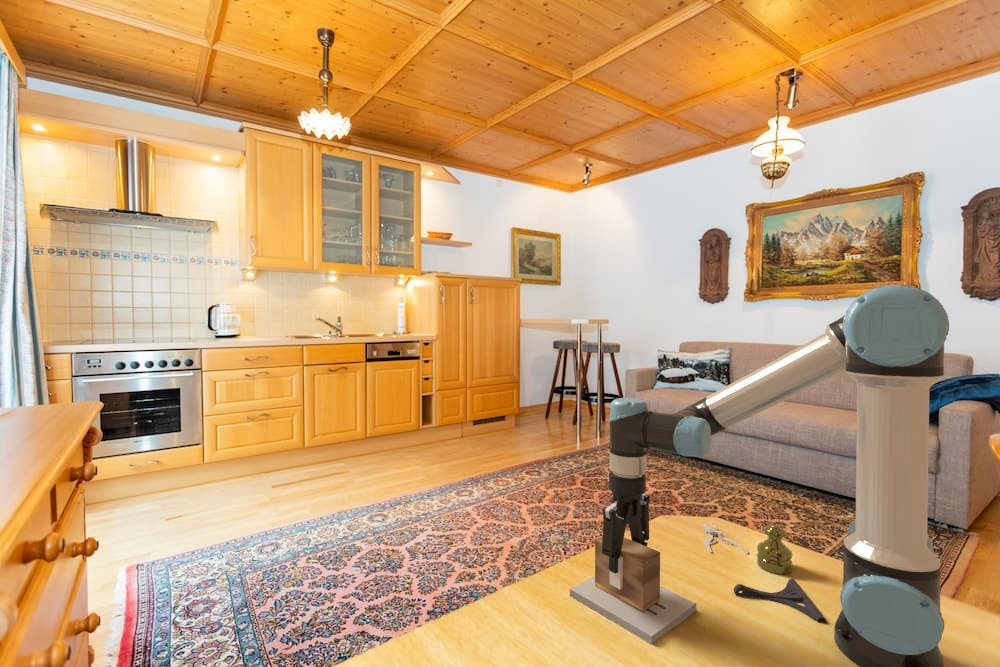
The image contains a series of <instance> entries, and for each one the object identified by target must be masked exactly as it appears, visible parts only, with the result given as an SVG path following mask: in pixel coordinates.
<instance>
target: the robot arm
mask: <svg viewBox="0 0 1000 667" xmlns="http://www.w3.org/2000/svg"><path fill="white" fill-rule="evenodd" d="M949 331H950V320H949V315H948V313H947V311H946V309H945V308H944V306H943V305H942V303H941V302H940V301H939V299H937V298H936V297H934V295H933V294H931V293H930V292H927V291H925V290H923V289H921V288H919V287H916V286H911V285H908V284H890V285H883V286H882V285H880V286H878V287H873V288H872V289H869V290H867V291H865V292H863V293H862V294H860V295H859V296H858V297H856V298H855V299H854V300H853V301H852V303H850V305H849V307H847V310H846V311H845V314H844V315H843V316H841V317H839V318H838V319H837V320H835V321H833V322H831V323H829V324H828V325H826V328H825V331H824V333H823V334H820V335H819V336H817V337H815V338H813V339H811V340H809V341H808V342H806V343H804V344H802V345H800V346H798V347H797V348H794V349H793V350H791V351H789V352H787V353H785V354H784V355H782V356H780V357H778V358H776V359H774V360H772V361H771V362H768V363H766V364H765V365H763V366H761V367H759V368H758V369H756V370H754V371H752V372H750V373H748V374H746V375H745V376H743V377H740V378H739V379H737V380H735V381H733V382H731V383H730V384H728V385H726V386H724V387H722V388H720V389H719V390H716V391H715V392H712V393H711V394H709V395H708V396H706V397H704V398H702V399H700V400H698V401H696V402H694V403H692V404H690V405H687V406H686V407H685V408H682V409H681V410H679V411H676V412H674V413H664V412H657V411H652V410H649V408H648V403H647V401H646V400H644V399H640V398H635V397H619V398H615V399H613V400H612V401H611V403H610V412H609V419H608V422H609V464H608V465H609V466H608V468H609V470H610V472H608V489H609V490H610V492H611V493H612V498H611V501H610V502H611V504H610V505H608V506H603V507H602V508H601V511H602V517H603V521H602V522H603V523H602V537H603V538H602V554H604V555H606V556H608V557H609V571H610V584H611V585H613V586H614V587H616V588H618V589H620V590H621V589H622V588H623V557H621V556H620V555H621V549H622V544H623V539H624V537H625V534H626V533H625V532H626V527H627V526H628V527H629V531H630V532H629V533H630V538H631V539H630V540H632V541H634V542H637V543H639V544H642V545H644V546H647V547H648V545H649V544H648V542H646V541H649V540H650V517H649V516H650V510H649V506H650V500H651V496H650V495H648V494H645V493H646V492H647V491H646V490H647V487H646V486H647V476H646V473H647V449H649V450H654V451H659V452H664V453H670V454H675V455H680V456H683V457H693V458H695V457H696V458H703V457H704V456H706V454H708V451H709V449H710V446H711V445H710V444H711V437H713V436H714V435H717V434H719V433H720V432H722V431H725V430H726V429H728V428H730V427H733V426H735V425H736V424H739V423H741V422H743V421H745V420H748V419H750V418H752V417H754V416H755V415H758V414H760V413H762V412H764V411H766V410H768V409H770V408H772V407H774V406H776V405H778V404H780V403H782V402H785V401H788V400H789V399H791V398H794V397H795V396H798V395H800V394H802V393H803V392H804V393H805V391H807V390H809V389H811V388H813V387H816V386H818V385H820V384H822V383H825V382H827V381H828V380H830V379H833V378H835V377H837V376H839V375H840V374H843V373H845V374H847V376H849V377H850V378H851V379H853V381H854V382H855V383H856V390H857V391H856V448H855V450H856V453H855V455H856V458H855V459H856V460H855V461H856V462H855V463H856V465H855V466H856V467H855V468H856V469H855V519H854V520H852V521H850V522H849V526H848V531H847V532H846V534H847V536H846V537H844V539H843V561H842V562H843V564H842V566H843V568H842V570H843V572H842V573H843V577H842V579H843V580H842V589H841V590H840V594H839V595H840V596H839V598H840V600H839V601H840V604H841V608H842V609H841V611H840V613H839V614H838V617H837V619H836V621H835V624H834V630H833V631H834V632H833V634H834V635H833V638H834V642H835V644H836V646H837V647H838V649H839V650H840V651H841V652H842V653H843V655H844V656H846V657H847V658H848V659H850V660H851V661H852V662H853V663H855V664H857V665H859V667H944V666H945V665H944V664H945V663H944V659H943V655H942V652H941V650H940V647H939V644H940V642H941V640H942V637H943V633H944V631H945V619H944V617H943V613H942V612H941V611H942V610H941V565H942V564H941V560H940V558H939V557H938V556H937V555H936V553H935V551H934V543H933V540H932V539H931V538H930V536H928V512H929V511H928V509H929V507H928V506H929V504H928V503H929V497H928V496H929V452H930V451H929V446H930V445H929V442H930V440H929V439H930V438H929V437H930V436H929V434H930V389H931V387H932V386H934V385H935V384H936V383H938V382H940V380H942V379H944V373H945V372H944V370H945V369H944V368H945V367H944V366H945V365H944V364H945V343H946V340H947V336H948V335H949Z"/></svg>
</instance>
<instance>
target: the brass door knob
mask: <svg viewBox="0 0 1000 667" xmlns="http://www.w3.org/2000/svg"><path fill="white" fill-rule="evenodd" d="M762 531H763V533H765V534H766V535H767V537H768V538H767V539H765V540H764V541H760V542H759V543H758V544H757V546H756V548H757V554H756V557H757V559H756V564H757V565H758V567H760V568H761V569H762V570H764V571H767V572H768V571H769V573H771V572H772V573H771V574H775V573H777V574H776V575H787V574H790V573H791V572H792V571H793V560H792V558H793V551H792V550H791V549H790V548H789V547H788V546H786V544H785V543H783V541H782V539H783V538H785V537H786V536H787V535H788V531H786V529H783V527H780V526H778V525H777V524H771V525H769V524H768V525H765V526H764V527H763V528H762Z"/></svg>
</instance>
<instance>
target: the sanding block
mask: <svg viewBox="0 0 1000 667" xmlns="http://www.w3.org/2000/svg"><path fill="white" fill-rule="evenodd" d="M602 538H603V536H601V537H599V538H597V539H595V540H594V542H595V543H594V554H595V555H594V576H595V586H597V587H598V588H600V589H602V590H604V591H606V592H608V593H610V594H612V595H613V596H615V597H617V598H619V599H621V600H623V601H625V602H626V603H628V604H630V605H632V606H634V607H636V608H638V609H640V610H641V611H644V610H646V609H647V608H649V607H650V606H652V605H653V604H655V603H656V602H658V601H659V600H660V586H661V551H658V550H656V549H654V548H651V547H650V546H648V545H647V546H644V545H642V544H639V543H637V542H634V541H632V539H629V538H627V537H625V536H624V539H623V544H622V549H621V555H620V556H621V557H623V588H622V589H621V590H620V589H618V588H616V587H614V586H613V585H611V584H610V571H609V557H608V556H606V555H604V554H602Z"/></svg>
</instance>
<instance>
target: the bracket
mask: <svg viewBox="0 0 1000 667" xmlns="http://www.w3.org/2000/svg"><path fill="white" fill-rule="evenodd" d="M733 593H734V594H735V596H736V597H742V598H751V599H754V598H755V599H763V600H770V601H774V602H777V603H780V604H783V605H786V606H789V607H790V608H793V609H795V610H797V611H799V612H800V613H802V614H804V615H806V616H807V617H808V618H810V619H811V620H812V621H816V622H817V623H820V619H821V621H822V622H823V623H824V624H827V620H826V618H825V616H823V615H824V614H822V613H821V612H820V611H819V609H818V608H817V607H816V605H815V604H814V603H813V601H812V600H811V599H810V598H809V596H808V595H807V594H806V592H805V591H804V590H803V589H802V588H801V586H800V585H799V583H798V582H797V581H796V579H794V578H790V579H788V580H787V582H786V586H785V587H784V588H783V589H781V590H779V591H776V592H768V591H763V590H758V589H755V588H753V587H750V586H746V585H743V584H742V583H739V584H735V586H734V588H733ZM799 603H801V604H799ZM802 604H803V605H802Z"/></svg>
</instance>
